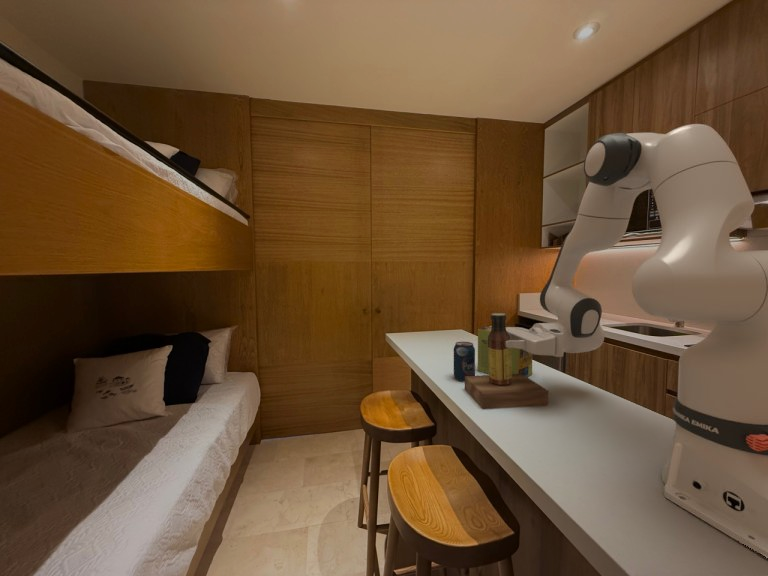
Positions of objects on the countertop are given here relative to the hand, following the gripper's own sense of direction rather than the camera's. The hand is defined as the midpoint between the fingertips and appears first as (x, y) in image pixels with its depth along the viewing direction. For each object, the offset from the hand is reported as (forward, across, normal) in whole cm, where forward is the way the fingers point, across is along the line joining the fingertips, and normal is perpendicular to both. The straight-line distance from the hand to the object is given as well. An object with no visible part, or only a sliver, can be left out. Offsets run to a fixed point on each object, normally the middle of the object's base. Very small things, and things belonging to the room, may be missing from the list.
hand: (497, 340), depth 91 cm
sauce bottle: (-1, -1, +13) cm, 13 cm away
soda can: (+4, -16, +17) cm, 23 cm away
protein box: (-12, -20, +17) cm, 29 cm away
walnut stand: (-2, 0, +16) cm, 17 cm away
